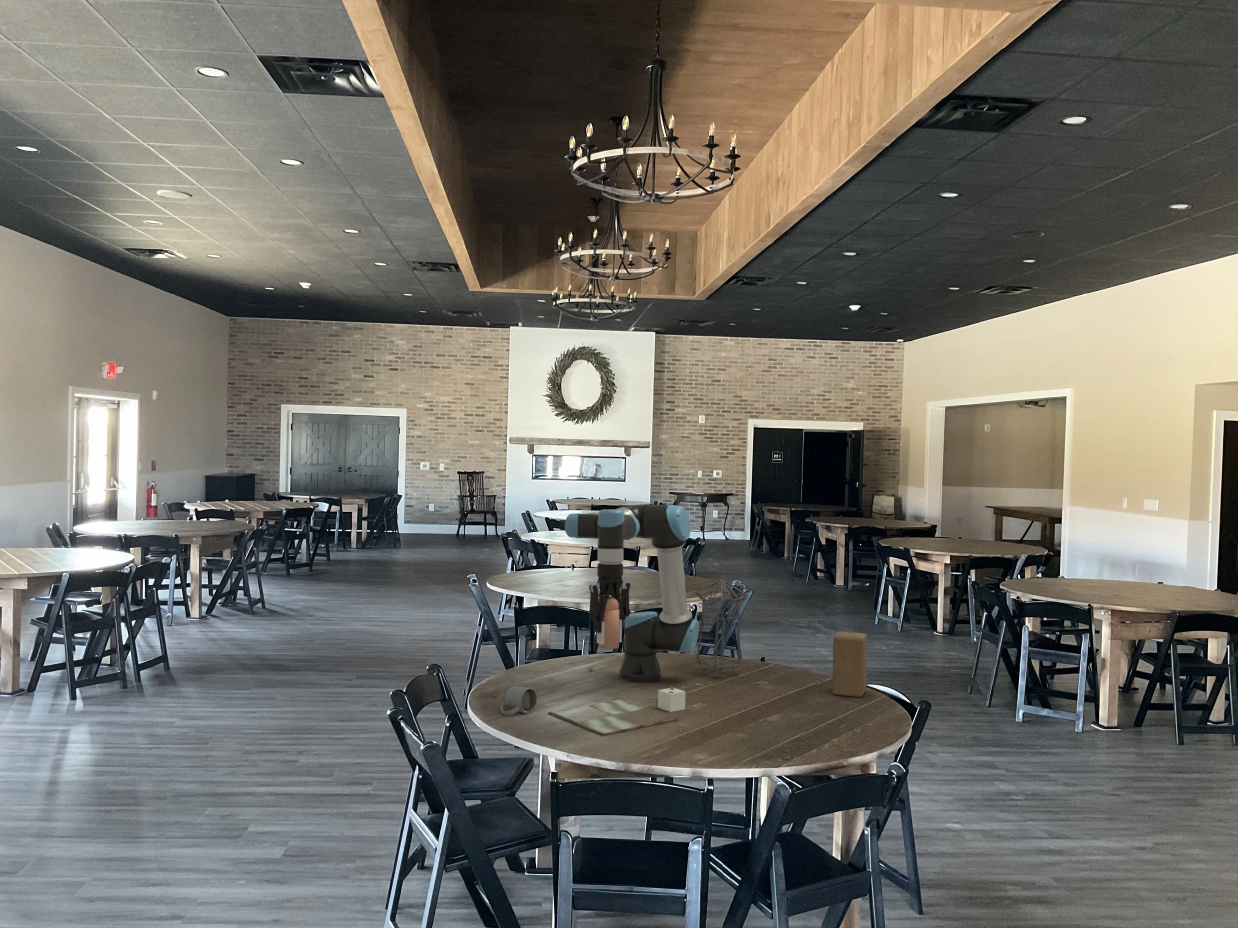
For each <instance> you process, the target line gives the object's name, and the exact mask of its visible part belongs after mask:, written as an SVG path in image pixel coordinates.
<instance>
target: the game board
mask: <svg viewBox="0 0 1238 928" xmlns="http://www.w3.org/2000/svg"><path fill="white" fill-rule="evenodd" d="M587 706H588V707H591V708H594V709H596V710H599V711H601V712H604V713H606V714H609V715H610V716H605V717H600V718H594V719H590V720H585V721H579V722H578V721H575V720H573V719H570V718H567V717H565V716H562V715H560V714H557V713H554V712H552V711H549V712H547V714H548V715H549V714H550V716H552V715H553V716H552V717H554V716H555V717H554V718H557V719H559V720H562V721H565V722H567V723H570V724H572V725H575V726H577V727H579V728H582V729H585V730H587V731H589V732H592V733H594V734H597V735H600V736H601V737H606V736H610V735H614V734H615V735H616V734H618V733H625V732H630V731H634V730H640V729H644V728H649V727H654V726H658V725H664V724H667V723H672V722H678V721H679V718H677V717H673V718H668V719H664V720H659V721H655V722H650V723H644V724H640V725H639V724H636V723H633V722H630V721H628V720H626V719H621V718H619V717H616V716H614V715H620V714H624V713H628V712H629V713H630V712H635V711H639V710H644V709H645V710H646V709H647V708H646V707H645V706H644V707H643V706H641V705H638V704H635V703H631V702H628V701H625V700H624V699H617V700H610V701H606V702H600V703H599V702H598V703H594V704H588V705H587Z"/></svg>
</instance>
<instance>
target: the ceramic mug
mask: <svg viewBox="0 0 1238 928" xmlns="http://www.w3.org/2000/svg"><path fill="white" fill-rule="evenodd" d="M503 702H504V704H503V705H502V706H501V707H500V710H501V713H502V715H503V714H504V715H503V716H506V715H509V716H512V715H514V714H516V713H517V712H518V713H521V714H525V713H529V714H531V713H532V712H533V711H534V710H535V709H536V707H537V704H538V694H537V692H536V690H535V689H534V688H532V687H525V686H517V685H516V686H510V687H508V689H506V691H505V693H504V696H503ZM506 709H508V710H506ZM523 710H525V711H527V712H524V711H523ZM530 712H531V713H530Z"/></svg>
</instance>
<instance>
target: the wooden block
mask: <svg viewBox="0 0 1238 928" xmlns="http://www.w3.org/2000/svg"><path fill="white" fill-rule="evenodd" d="M867 640H868V636H867V634H866V633H863V632H853V631H841V630H840V631H838V632H836V633H835V634H834V636H833V637H832V645H833V646H832V694H833V695H836V696H845V697H852V698H853V697H855V698H862V697H863V696H864V694H865V693H866V690H867V659H868V658H867V653H868V652H867V651H868V650H867V648H868V641H867Z"/></svg>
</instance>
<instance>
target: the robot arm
mask: <svg viewBox="0 0 1238 928" xmlns="http://www.w3.org/2000/svg"><path fill="white" fill-rule="evenodd" d="M691 527H692V526H691V520H690V515H689V513H688V511H687V509H685V508H684V506H681V505H673V504H645V503H643V504H634V505H629V506H624V507H619V508H616V509H601V510H600V511H598V512H588V513H579V512H577V513H569V514H567V516H566V518H565V521H564V532H565V534H566V536H568V537H569V538H575V539H593V540H597V562H598V563H597V564H596V565H597V568H596V570H597V573H596V574H597V577H598V578H597V581H596V583H595V584H590V585H589V586H588V589H589V593H590V595H589V611H588V613H589V614H588V616H589V619H590V620H592V621H594V623H595V624H594V631H595V633H596V644H599V645H600V644H602V645H603V644H604V636H605V622H604V621H602V620H603V616H604V612H605V607H606V603H607V599H608V598H609V597H613V598H615V599H616V600H617V601H618V604H619V608H618V609H619V643H622V641H623V640H622V636H623V635H622V634H623V633H622V632H623V630H624V637H623V638H624V650H623V651H624V653H623V654H624V655H623V658H622V662H621V666H620V669H619V670H618V671H619V673H618V677H620V678H619V679H621V678H622V679H621V680H623V679H625V680H624V681H626V680H629V681H628V682H633V681H636V682H637V683H647V682H648V683H649V682H656V681H659V680H661V679H662V670H661V666H660V663H659V659H658V657H657V656H658V655H657V653H658V651H665V652H666V651H667V652H675V653H676V652H677V653H691V652H692V651H693V650H694V649H695V647H696V645H697V642H698V640H699V634H700V622H699V620H697V619H696V618H694V619H693V613H692V611H691V610H690V609H688V602H687V591H686V579H685V578H686V577H685V569H684V568H685V567H684V557H683V547H684V546H685V545H686V542H687V540H689V538H690V537H691ZM634 538H639V539H651V546H652V547H653V548H654V549H656V553H657V554H656V555H657V562H658V574H659V584H660V585H659V586H660V594H661V595H660V596H661V603H662V611H661V612H660V613H659V615H658V612H657V611H641V612H634V613H630V589H631V583H630V582H625V581H623V575H624V564H623V562H624V541H629V540H631V539H634ZM636 682H635V683H636Z"/></svg>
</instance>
